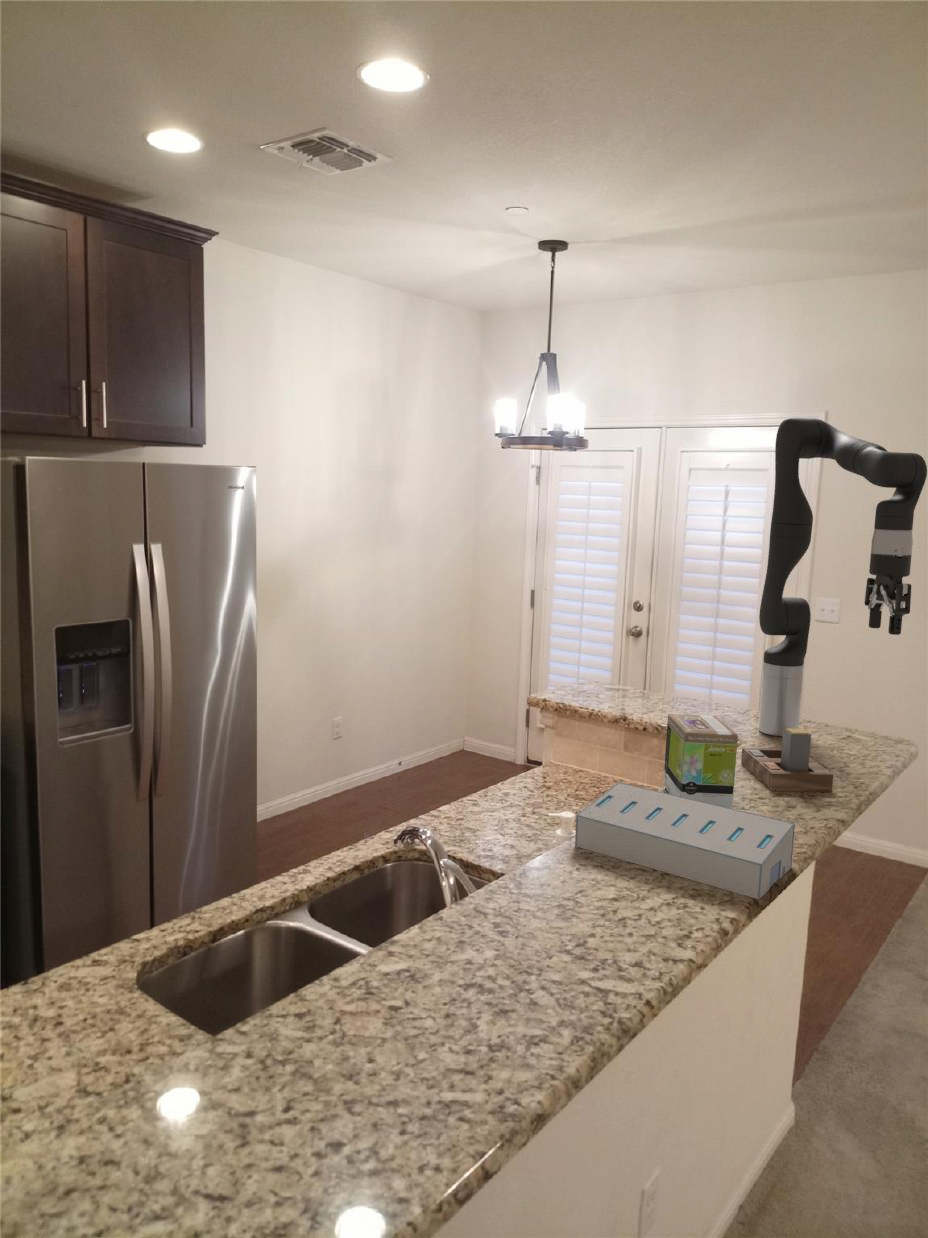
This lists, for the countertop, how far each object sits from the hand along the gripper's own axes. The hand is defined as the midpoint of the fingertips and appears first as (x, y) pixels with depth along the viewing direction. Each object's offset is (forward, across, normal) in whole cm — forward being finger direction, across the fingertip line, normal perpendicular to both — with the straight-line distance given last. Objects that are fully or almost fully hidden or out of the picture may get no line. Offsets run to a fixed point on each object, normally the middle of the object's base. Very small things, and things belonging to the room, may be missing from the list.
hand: (884, 631), depth 184 cm
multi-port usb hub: (+31, +46, -52) cm, 76 cm away
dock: (+30, +4, -20) cm, 36 cm away
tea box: (+30, +18, -42) cm, 55 cm away
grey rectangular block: (+29, +8, -20) cm, 37 cm away
